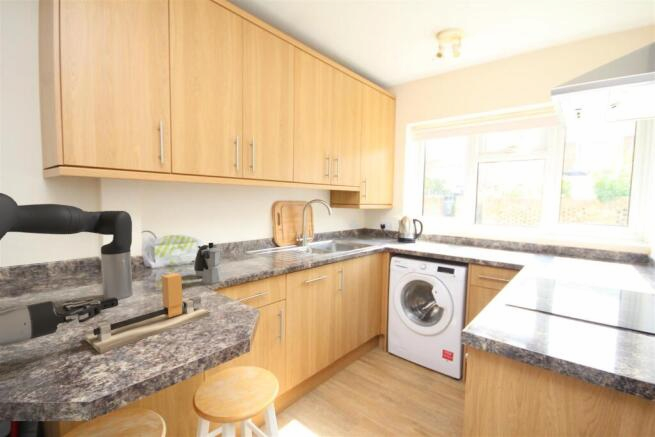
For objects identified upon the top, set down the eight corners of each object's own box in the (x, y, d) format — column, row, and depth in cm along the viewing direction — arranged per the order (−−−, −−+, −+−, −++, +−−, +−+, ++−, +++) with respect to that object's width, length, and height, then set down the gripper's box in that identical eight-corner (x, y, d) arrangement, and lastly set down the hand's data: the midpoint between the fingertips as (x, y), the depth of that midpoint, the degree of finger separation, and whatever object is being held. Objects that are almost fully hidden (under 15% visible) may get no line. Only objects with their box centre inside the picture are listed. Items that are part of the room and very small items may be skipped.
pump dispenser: (209, 272, 151) (208, 242, 150) (221, 275, 145) (220, 244, 144) (189, 276, 143) (188, 245, 142) (201, 279, 137) (200, 247, 136)
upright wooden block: (163, 314, 91) (161, 275, 90) (176, 310, 94) (174, 273, 93) (169, 317, 88) (167, 277, 88) (182, 313, 92) (181, 274, 91)
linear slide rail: (85, 339, 79) (84, 321, 78) (190, 307, 102) (189, 293, 102) (100, 353, 72) (99, 333, 71) (209, 315, 95) (209, 300, 94)
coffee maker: (208, 278, 140) (207, 240, 139) (227, 278, 140) (226, 240, 138) (193, 287, 125) (192, 245, 124) (213, 287, 125) (212, 245, 123)
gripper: (30, 313, 61) (126, 292, 75) (19, 300, 69) (107, 283, 83) (32, 348, 61) (127, 320, 75) (21, 331, 69) (108, 309, 83)
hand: (116, 301), depth 79 cm, fingers closed
